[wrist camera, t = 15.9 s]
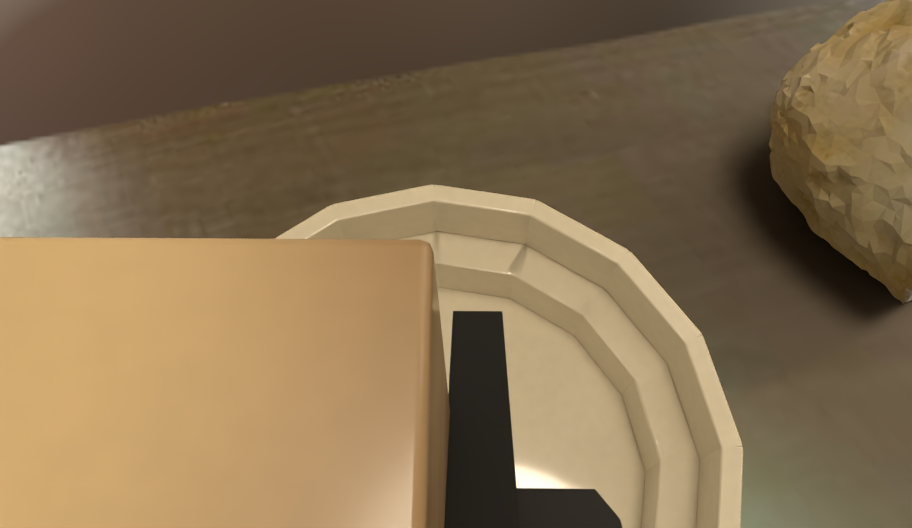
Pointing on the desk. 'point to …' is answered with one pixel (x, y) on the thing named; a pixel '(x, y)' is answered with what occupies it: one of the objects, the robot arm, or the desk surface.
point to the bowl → (574, 351)
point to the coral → (853, 142)
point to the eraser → (221, 384)
